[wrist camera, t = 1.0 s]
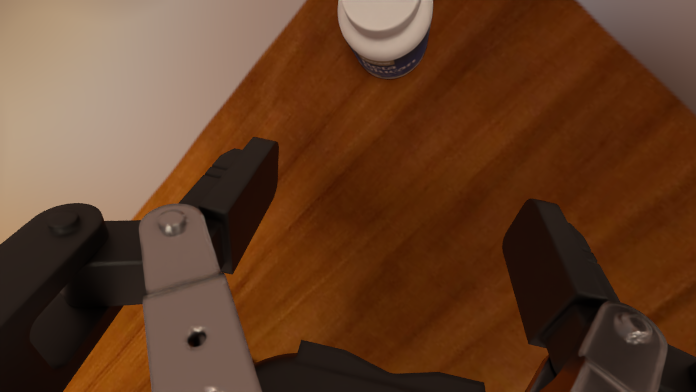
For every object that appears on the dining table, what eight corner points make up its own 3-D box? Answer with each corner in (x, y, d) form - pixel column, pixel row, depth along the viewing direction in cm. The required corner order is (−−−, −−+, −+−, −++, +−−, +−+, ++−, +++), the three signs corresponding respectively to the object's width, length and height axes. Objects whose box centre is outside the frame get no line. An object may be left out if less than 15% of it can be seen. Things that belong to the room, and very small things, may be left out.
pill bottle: (364, 88, 27) (339, 60, 17) (348, 18, 26) (312, -52, 17) (434, 68, 26) (448, 26, 16) (419, -6, 25) (423, -96, 15)
